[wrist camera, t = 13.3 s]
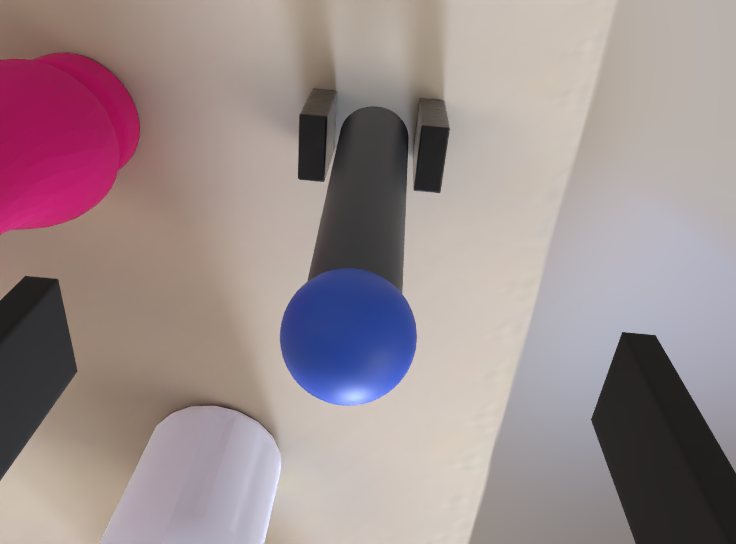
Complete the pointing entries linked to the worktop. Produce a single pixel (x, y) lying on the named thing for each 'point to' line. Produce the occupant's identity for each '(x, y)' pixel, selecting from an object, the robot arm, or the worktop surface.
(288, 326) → the microphone
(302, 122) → the clip
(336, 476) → the worktop surface
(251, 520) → the soap bottle
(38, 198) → the pepper mill
